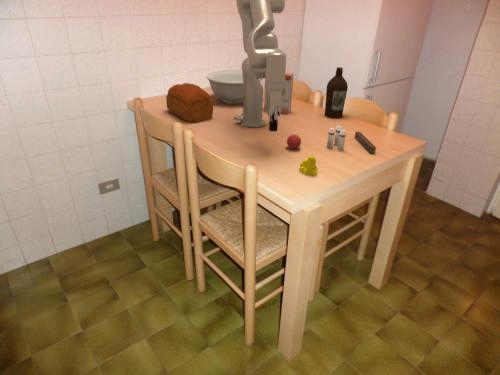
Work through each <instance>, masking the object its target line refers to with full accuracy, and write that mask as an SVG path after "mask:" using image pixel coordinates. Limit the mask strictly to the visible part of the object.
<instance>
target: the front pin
mask: <svg viewBox="0 0 500 375" xmlns="http://www.w3.org/2000/svg"><path fill="white" fill-rule="evenodd" d="M335 134H336V128H335V127H329V128H328V135H327V136H328V137H327V142H326V148H327V149H333V145H334V140H335Z"/></svg>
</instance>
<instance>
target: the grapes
mask: <svg viewBox="0 0 500 375" xmlns="http://www.w3.org/2000/svg"><path fill="white" fill-rule="evenodd" d="M316 164H317V160H316V157H315V155H313V154H310V156H309V157H307V158H305V159H303V160H302V161H301V162H300V164H299V165H300V166H299V168H298V172H299V173H301V174H302V175H305V176H307V175H311V176H312V177H315V176H317V175H318V171H319V170H318V169H319V167H318V166H317V165H316Z"/></svg>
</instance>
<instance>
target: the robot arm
mask: <svg viewBox="0 0 500 375" xmlns="http://www.w3.org/2000/svg"><path fill="white" fill-rule="evenodd" d="M235 3H236V7H237V8H236V9H237V12H238V15H239V17H240V20H241V28H242V30H241V31H242V44H243V45H242V46H243V50H244V52H245V53H246V55H247V58H245V59H243V61H242V62H241V70H242V75H243V103H242V105H243V107H242V113H241V114H239V115H233V119H234V120H236V121H239V125H241V126H243V127H246V128H261V127H263V126H265V125H266V120H264V119H263V109H264V105H263V104H264V103H263V102H264V101H263V100H264V90H265V89H266V90H267V97H266V111H265V112H266V113H267V115H268V117H269V122H268V130H269V132H278V124H279V122H278V119H279V117H280V116H282V113H281V106H282V91H283V90H284V89H285V73H286V70H287V54H286V52H284V51H283V50H282V49H281V48H279V41H278V37H277V35H276V34H275V33H274V32H272V31H273V30H274V28H275V26H276V23H275V19H274V18H275V17H274V14H281V13H283V11H284V9H285V6H286V0H236V2H235ZM265 78H266V83H264V87H263V85H262V83H261V81H260V82H259V81H258V79H262V80H263V79H265Z"/></svg>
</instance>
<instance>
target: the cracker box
mask: <svg viewBox="0 0 500 375" xmlns="http://www.w3.org/2000/svg"><path fill="white" fill-rule="evenodd" d="M294 75H295V74H294V73H292V72H285V89H284V90H283V91H282V106H281V114H282V115H289V113H291V110H292V100H293V98H292V97H293V86H294ZM264 79H265V80H264V82H265V83H266V78H264ZM265 83H264V84H265ZM266 97H267V90H266V89H265V88H264V97H263V100H264V101H263V102H264V103H263V104H264V105H263V111H264V112H266Z"/></svg>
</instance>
